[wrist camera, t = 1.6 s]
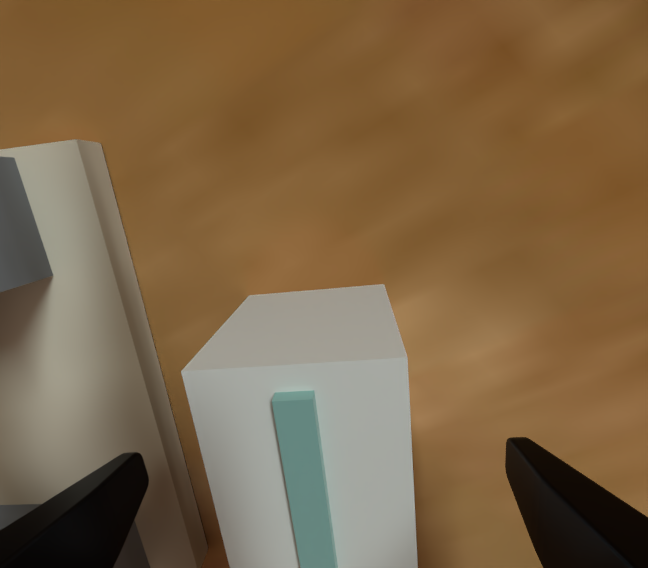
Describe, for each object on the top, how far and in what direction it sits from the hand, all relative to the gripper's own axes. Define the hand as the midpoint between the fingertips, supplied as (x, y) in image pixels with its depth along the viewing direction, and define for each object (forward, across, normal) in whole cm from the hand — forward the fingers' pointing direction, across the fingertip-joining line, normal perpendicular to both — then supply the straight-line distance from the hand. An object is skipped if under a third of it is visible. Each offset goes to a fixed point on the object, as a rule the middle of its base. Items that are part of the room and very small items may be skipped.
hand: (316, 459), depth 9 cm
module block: (+4, 0, 0) cm, 4 cm away
